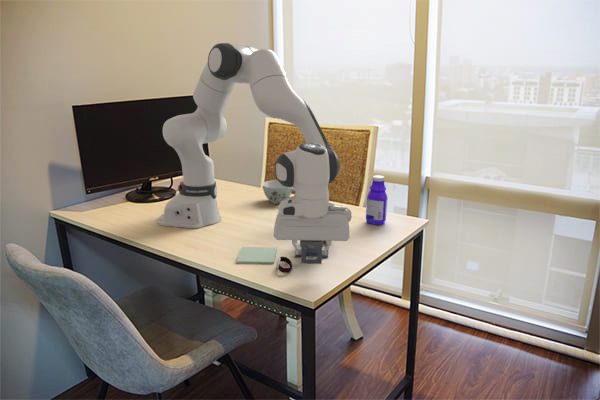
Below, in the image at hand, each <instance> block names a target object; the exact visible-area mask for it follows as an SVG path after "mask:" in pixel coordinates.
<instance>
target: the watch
mask: <svg viewBox="0 0 600 400" xmlns="http://www.w3.org/2000/svg"><path fill="white" fill-rule="evenodd" d="M281 262H282V263H285V264H287V265H288V266H289V267H283V266H282V265H281ZM292 268H293V262H292V260H291V259H290V258H288V257H286V256H279V257H278V258H277V262H276V266H275V269H277V270H278V271H279V272H280V273H283V274H289V273H290V272H291V271H292Z"/></svg>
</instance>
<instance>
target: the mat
mask: <svg viewBox="0 0 600 400" xmlns="http://www.w3.org/2000/svg"><path fill="white" fill-rule="evenodd" d="M277 248H278V247H276V246H273V247H270V246H269V247H267V246H263V247H262V246H241V248H240V251H239V254H238V256H237V258H236V262H235V263H236V264H254V265H255V264H257V265H258V264H261V265H264V264H265V265H266V264H267V265H274V263H275V259H276V255H277V251H278V250H277Z"/></svg>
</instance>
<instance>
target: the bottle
mask: <svg viewBox="0 0 600 400" xmlns="http://www.w3.org/2000/svg"><path fill="white" fill-rule="evenodd" d="M386 190H387V187H386V185H385V176H384V175H381V174H380V175H379V174H377V175H373V176H372V183H371V184H370V186H369V192H368V194H367V195H366V208H365V210H366V211H365V220H366V222H367V223H368V224H371V225H376V226H377V225H379V226H380V225H384V224H385V223H386V220H387V211H388V195H387V193H386Z"/></svg>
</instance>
